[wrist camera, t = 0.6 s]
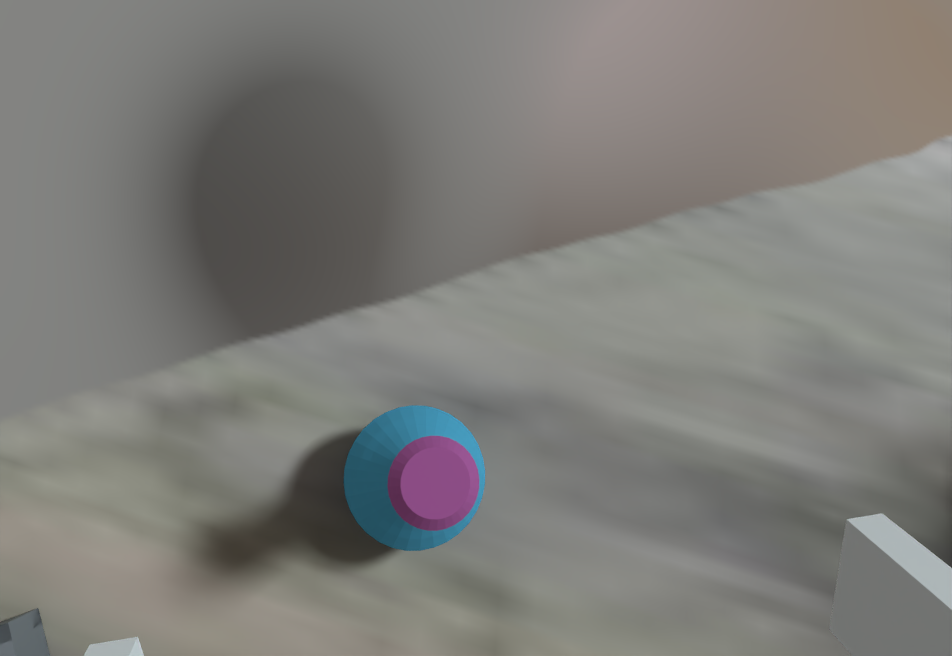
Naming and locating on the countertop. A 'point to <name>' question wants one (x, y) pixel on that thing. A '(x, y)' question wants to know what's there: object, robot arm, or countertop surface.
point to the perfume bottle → (414, 478)
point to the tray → (23, 636)
